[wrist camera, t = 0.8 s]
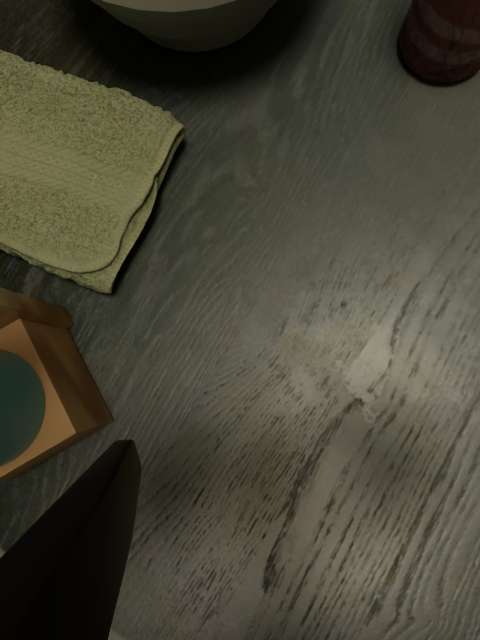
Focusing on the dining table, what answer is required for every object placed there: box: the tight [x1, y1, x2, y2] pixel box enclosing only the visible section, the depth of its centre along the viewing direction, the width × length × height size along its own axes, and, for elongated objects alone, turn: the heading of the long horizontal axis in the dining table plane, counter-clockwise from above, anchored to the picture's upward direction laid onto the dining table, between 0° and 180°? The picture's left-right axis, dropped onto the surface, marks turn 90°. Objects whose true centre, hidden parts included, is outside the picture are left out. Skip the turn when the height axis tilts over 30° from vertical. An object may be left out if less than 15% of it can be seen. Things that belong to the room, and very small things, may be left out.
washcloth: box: [0, 50, 185, 293], centre depth 24 cm, size 13×18×3 cm
